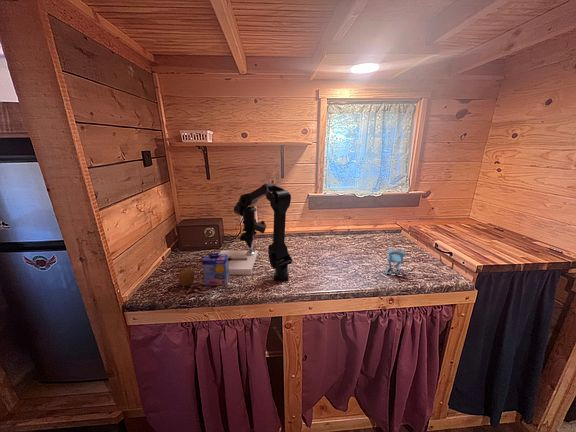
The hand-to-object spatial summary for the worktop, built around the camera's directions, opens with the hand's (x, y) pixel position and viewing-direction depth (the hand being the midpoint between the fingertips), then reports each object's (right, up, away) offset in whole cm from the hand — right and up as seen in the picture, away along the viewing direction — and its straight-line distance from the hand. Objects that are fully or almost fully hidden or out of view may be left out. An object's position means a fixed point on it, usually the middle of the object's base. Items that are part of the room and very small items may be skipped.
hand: (250, 246), depth 120 cm
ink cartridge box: (-12, -13, -19) cm, 26 cm away
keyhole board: (-7, -8, -4) cm, 11 cm away
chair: (+70, -10, -11) cm, 71 cm away
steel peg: (0, -4, +1) cm, 4 cm away
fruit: (-24, -14, -21) cm, 35 cm away
